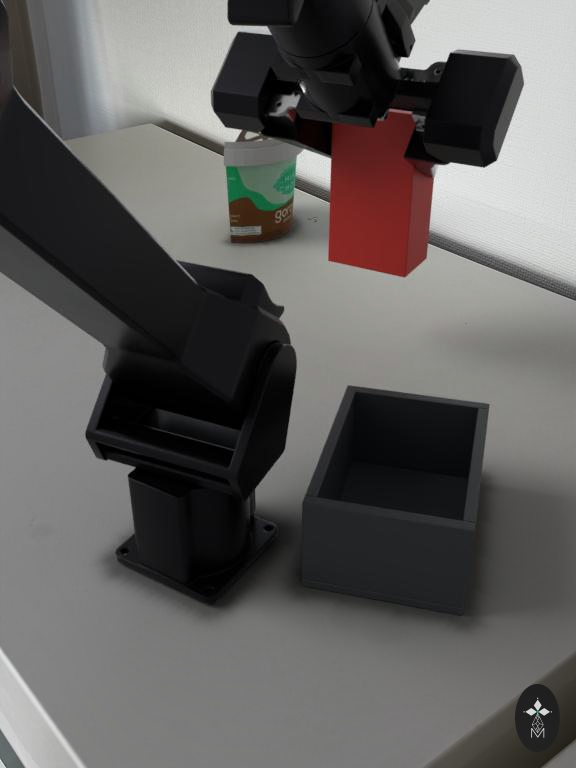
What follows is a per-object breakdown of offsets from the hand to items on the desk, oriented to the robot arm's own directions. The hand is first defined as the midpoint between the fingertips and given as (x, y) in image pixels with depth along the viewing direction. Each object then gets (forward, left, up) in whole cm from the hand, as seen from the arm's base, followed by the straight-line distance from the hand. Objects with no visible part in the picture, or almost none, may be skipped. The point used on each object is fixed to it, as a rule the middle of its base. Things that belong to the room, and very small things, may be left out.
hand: (391, 164), depth 60 cm
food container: (+16, +20, -14) cm, 29 cm away
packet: (-1, 0, -7) cm, 7 cm away
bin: (-19, -11, -14) cm, 26 cm away
